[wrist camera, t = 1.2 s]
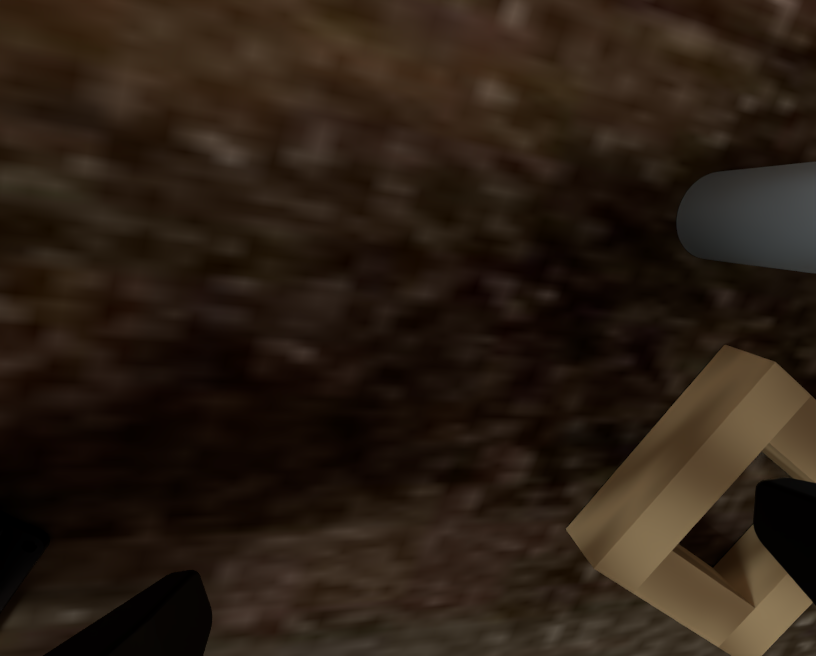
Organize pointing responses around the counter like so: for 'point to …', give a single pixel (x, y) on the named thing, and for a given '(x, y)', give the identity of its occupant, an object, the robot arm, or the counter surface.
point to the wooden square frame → (706, 504)
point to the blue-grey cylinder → (753, 217)
